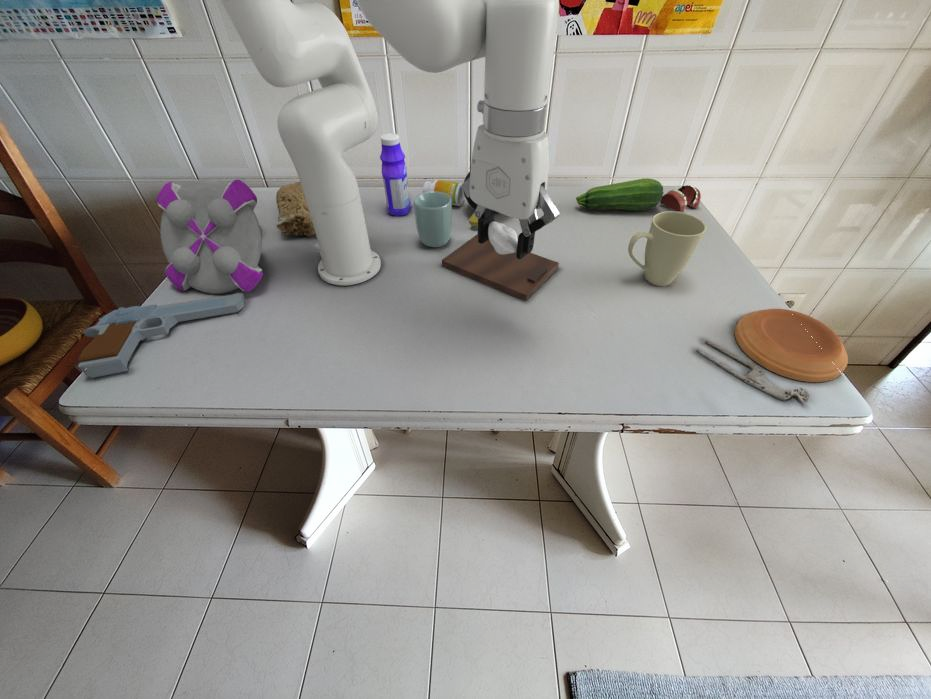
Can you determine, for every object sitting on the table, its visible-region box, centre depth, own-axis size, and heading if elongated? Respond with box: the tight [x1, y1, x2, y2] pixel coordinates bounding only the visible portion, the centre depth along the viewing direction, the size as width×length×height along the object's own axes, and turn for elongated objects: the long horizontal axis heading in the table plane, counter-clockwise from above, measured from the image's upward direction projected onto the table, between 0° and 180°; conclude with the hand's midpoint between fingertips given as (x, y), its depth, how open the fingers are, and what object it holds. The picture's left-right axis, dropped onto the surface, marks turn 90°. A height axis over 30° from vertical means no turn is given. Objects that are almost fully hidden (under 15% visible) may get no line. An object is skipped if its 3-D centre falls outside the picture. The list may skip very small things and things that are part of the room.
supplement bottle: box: [422, 179, 465, 207], centre depth 106 cm, size 5×5×10 cm
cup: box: [413, 191, 453, 248], centre depth 90 cm, size 8×8×10 cm
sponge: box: [275, 181, 316, 237], centre depth 100 cm, size 13×8×20 cm
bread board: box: [441, 233, 560, 302], centre depth 86 cm, size 20×13×2 cm, turn 54°
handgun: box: [77, 292, 245, 379], centre depth 72 cm, size 4×25×15 cm
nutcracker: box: [695, 340, 811, 406], centre depth 65 cm, size 16×1×5 cm
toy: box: [156, 179, 264, 295], centre depth 83 cm, size 25×25×15 cm
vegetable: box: [575, 178, 665, 212], centre depth 101 cm, size 7×7×20 cm
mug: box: [627, 210, 707, 287], centre depth 79 cm, size 11×10×12 cm
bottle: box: [379, 132, 412, 216], centre depth 99 cm, size 7×6×17 cm
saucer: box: [734, 308, 849, 383], centre depth 69 cm, size 16×16×3 cm
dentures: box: [659, 184, 702, 213], centre depth 103 cm, size 6×5×9 cm
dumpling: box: [488, 221, 518, 255], centre depth 63 cm, size 7×5×4 cm
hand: (504, 246), depth 64 cm, fingers closed on dumpling, 6 cm apart
